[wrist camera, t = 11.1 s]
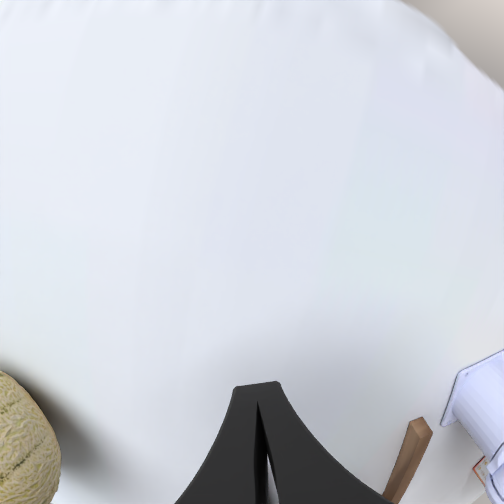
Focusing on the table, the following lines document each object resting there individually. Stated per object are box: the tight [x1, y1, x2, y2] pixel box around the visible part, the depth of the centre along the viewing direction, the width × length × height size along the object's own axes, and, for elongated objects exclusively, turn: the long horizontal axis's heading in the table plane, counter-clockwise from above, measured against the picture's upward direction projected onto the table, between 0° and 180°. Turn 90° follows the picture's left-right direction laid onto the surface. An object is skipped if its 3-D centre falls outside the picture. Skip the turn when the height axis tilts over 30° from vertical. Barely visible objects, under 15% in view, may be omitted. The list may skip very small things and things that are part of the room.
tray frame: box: [268, 417, 433, 504], centre depth 24 cm, size 18×18×2 cm
